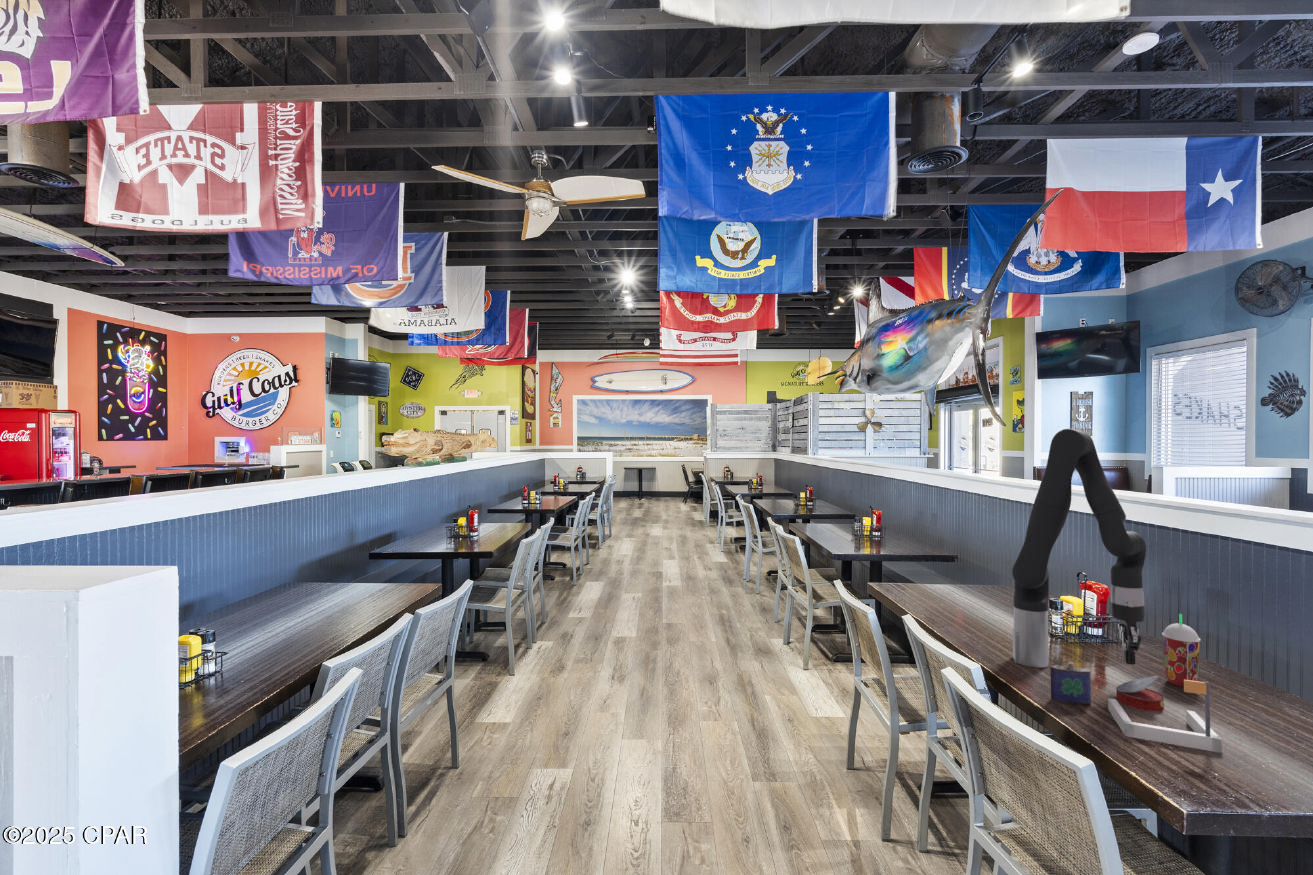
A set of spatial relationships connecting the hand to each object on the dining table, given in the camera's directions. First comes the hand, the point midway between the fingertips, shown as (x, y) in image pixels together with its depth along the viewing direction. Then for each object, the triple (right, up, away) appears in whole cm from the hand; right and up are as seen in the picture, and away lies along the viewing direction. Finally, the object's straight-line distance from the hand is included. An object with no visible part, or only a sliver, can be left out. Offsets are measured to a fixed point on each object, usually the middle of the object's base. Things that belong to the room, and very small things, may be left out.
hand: (1129, 663), depth 166 cm
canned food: (-6, -7, -10) cm, 13 cm away
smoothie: (+18, -7, +3) cm, 19 cm away
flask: (-24, -7, -10) cm, 26 cm away
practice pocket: (-13, -6, -24) cm, 28 cm away
